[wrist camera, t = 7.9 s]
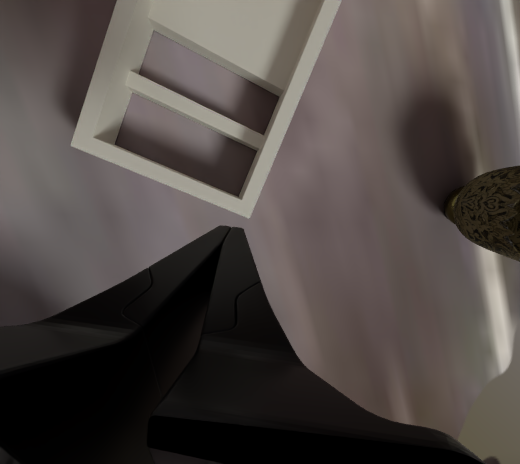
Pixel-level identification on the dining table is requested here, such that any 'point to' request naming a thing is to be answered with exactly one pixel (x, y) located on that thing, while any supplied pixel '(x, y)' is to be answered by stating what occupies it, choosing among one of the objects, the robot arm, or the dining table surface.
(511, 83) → the dining table surface
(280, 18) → the trap box
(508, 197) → the cup
